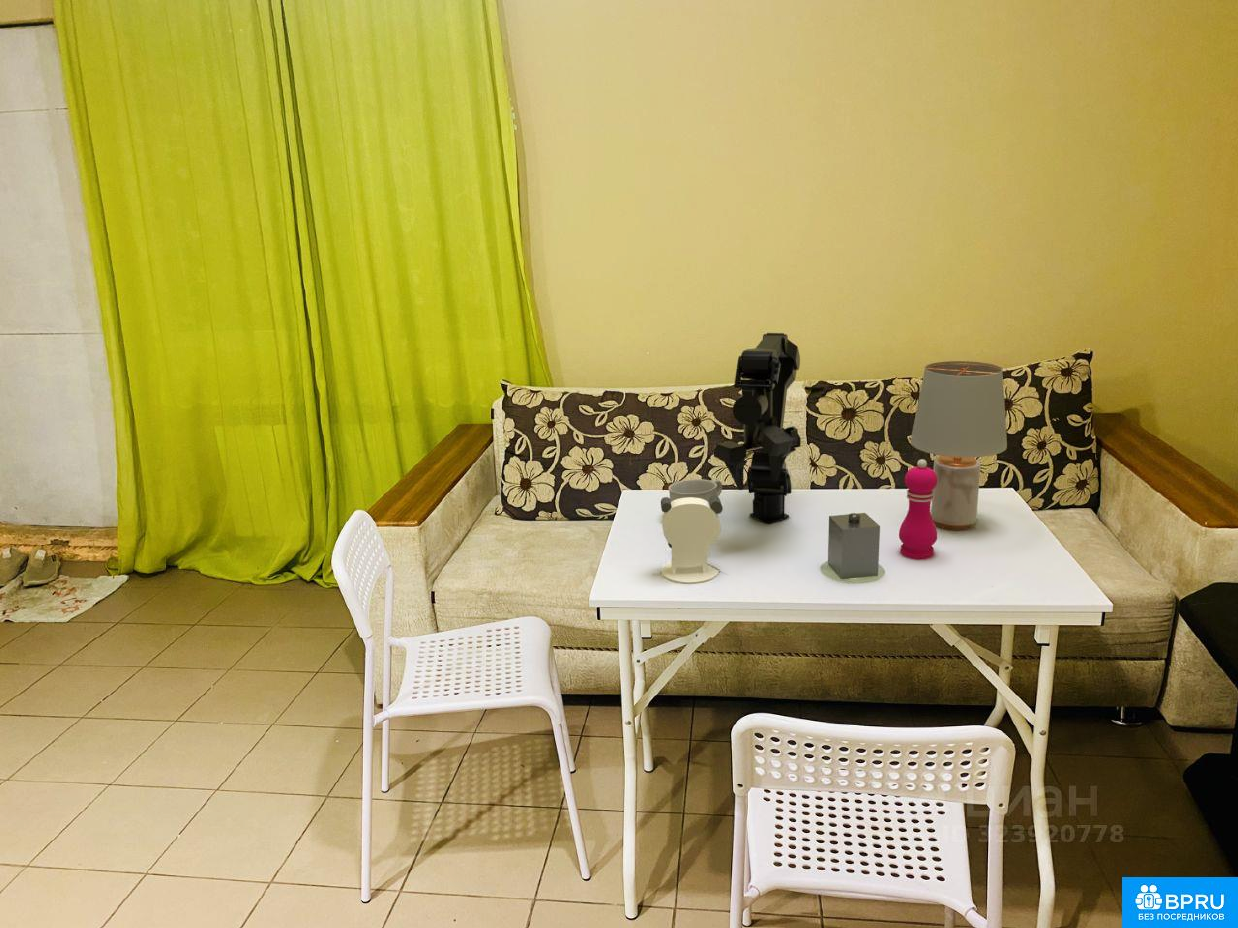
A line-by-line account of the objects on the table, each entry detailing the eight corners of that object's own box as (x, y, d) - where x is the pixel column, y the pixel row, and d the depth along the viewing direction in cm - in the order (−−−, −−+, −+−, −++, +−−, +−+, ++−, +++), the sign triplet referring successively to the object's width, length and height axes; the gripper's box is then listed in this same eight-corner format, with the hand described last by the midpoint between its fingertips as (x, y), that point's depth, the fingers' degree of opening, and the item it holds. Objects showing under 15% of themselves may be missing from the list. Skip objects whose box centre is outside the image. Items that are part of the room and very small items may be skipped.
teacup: (685, 530, 202) (684, 496, 200) (660, 516, 211) (659, 482, 209) (738, 517, 208) (738, 484, 206) (712, 504, 217) (711, 471, 215)
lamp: (894, 531, 197) (902, 374, 186) (920, 503, 212) (929, 356, 201) (988, 547, 186) (1001, 381, 176) (1008, 516, 201) (1022, 363, 191)
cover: (827, 564, 180) (829, 510, 177) (863, 560, 181) (865, 506, 178) (841, 579, 174) (843, 523, 170) (878, 575, 175) (880, 520, 171)
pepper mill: (936, 550, 186) (942, 455, 180) (935, 564, 180) (942, 466, 174) (898, 547, 188) (903, 453, 182) (896, 561, 182) (901, 464, 176)
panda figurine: (719, 558, 187) (718, 488, 182) (725, 582, 176) (725, 508, 172) (659, 561, 187) (657, 490, 183) (662, 584, 176) (660, 511, 172)
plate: (852, 555, 185) (852, 552, 185) (898, 575, 176) (898, 572, 175) (807, 570, 180) (807, 567, 179) (852, 591, 170) (852, 588, 170)
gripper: (747, 428, 176) (747, 505, 181) (820, 412, 186) (818, 485, 190) (711, 416, 186) (712, 490, 190) (782, 402, 195) (782, 472, 199)
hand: (757, 484), depth 192 cm, fingers open, 9 cm apart
